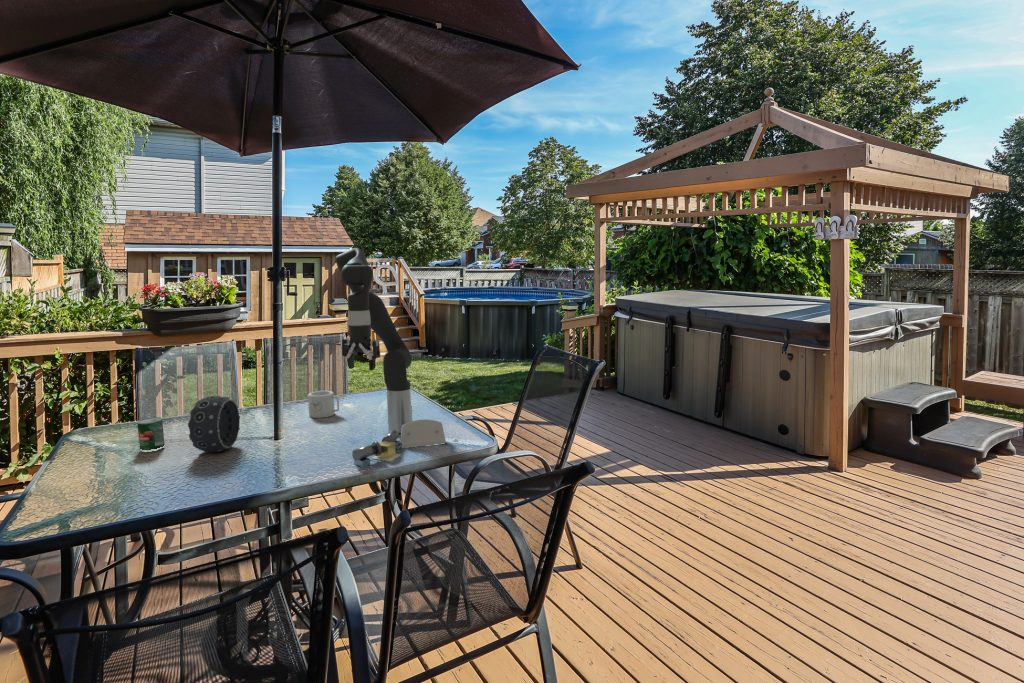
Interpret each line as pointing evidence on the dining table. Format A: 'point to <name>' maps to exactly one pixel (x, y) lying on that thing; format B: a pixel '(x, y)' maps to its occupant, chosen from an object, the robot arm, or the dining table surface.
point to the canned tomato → (150, 433)
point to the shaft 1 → (366, 454)
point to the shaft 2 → (392, 438)
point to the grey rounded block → (422, 433)
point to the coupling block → (387, 450)
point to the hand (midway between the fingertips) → (361, 369)
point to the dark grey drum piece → (214, 424)
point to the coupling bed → (387, 459)
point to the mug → (322, 404)
